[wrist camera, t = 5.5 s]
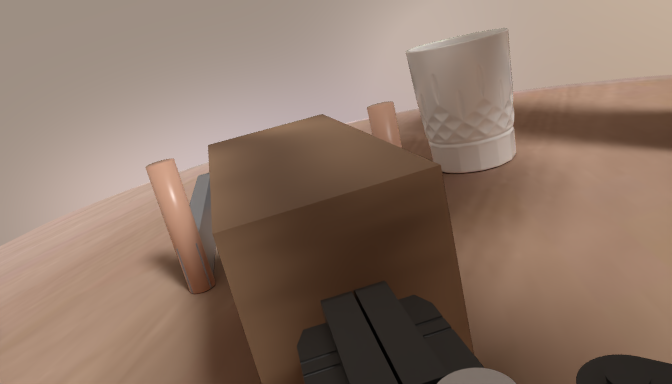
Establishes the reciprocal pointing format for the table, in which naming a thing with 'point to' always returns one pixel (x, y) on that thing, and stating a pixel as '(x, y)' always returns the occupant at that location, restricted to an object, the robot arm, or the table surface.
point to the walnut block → (326, 231)
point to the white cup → (466, 99)
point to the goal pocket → (195, 219)
